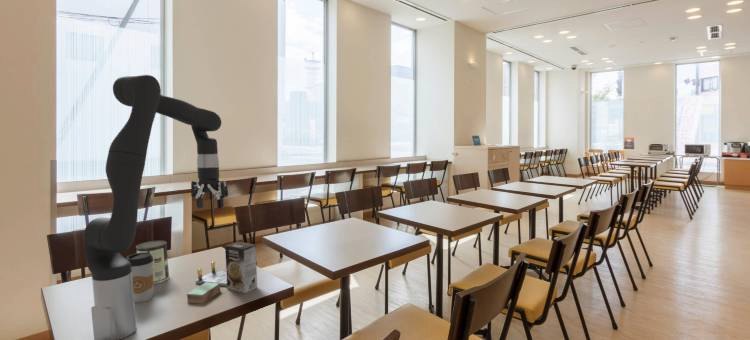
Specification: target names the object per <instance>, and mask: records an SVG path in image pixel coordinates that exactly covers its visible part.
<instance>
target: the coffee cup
mask: <svg viewBox="0 0 750 340" xmlns="http://www.w3.org/2000/svg"><path fill="white" fill-rule="evenodd" d="M125 259H127V260H128V261H130V263H131V268H132V280H133V293H134V303H142V302H146V301H148V299H149V300H151V299H152V297H153V295H154V284H153V257H152V256H151V253H146V252H144V253H137V252H135V253H133V254H129V255H127V256H126V257H125Z"/></svg>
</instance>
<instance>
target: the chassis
mask: <svg viewBox="0 0 750 340" xmlns="http://www.w3.org/2000/svg"><path fill="white" fill-rule="evenodd" d="M210 265H211V271H210V272H209V273H207V274H205V275H203V273H202V272H203V270H202V268H201V267H200V268H197V269H196V270H197V279H195V284H196V285H202V284H204V283H205V282H209V283H220V287H227V271H226V270H216V261H215V260H213V261H211V262H210Z"/></svg>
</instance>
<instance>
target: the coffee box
mask: <svg viewBox="0 0 750 340" xmlns="http://www.w3.org/2000/svg"><path fill="white" fill-rule="evenodd" d="M224 249H225V250H224V251H225V252H224V253H225V269H226V270H225V271H227V288H226V289H227V290H231V291H234V292H235V291H236V292H239V293H242V294H247V293H249V292H251V291H253V290H254V289H255V290H256V288H258V273H257V272H258V270H257V266H258V265H257V244H254V243H249V242H242V241H236V242H235V241H234V242H233V243H229V244H226V245H224Z"/></svg>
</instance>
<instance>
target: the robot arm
mask: <svg viewBox="0 0 750 340" xmlns="http://www.w3.org/2000/svg"><path fill="white" fill-rule="evenodd" d="M112 92H113V95H114V97H115V99H116V100H117V101H118V102H119V103H120V104H121V105H124V106H127V107H131V111H130V114H129V118H128V120H127V121H126V123H125V124H124V126H123V127H122V128H121V129H120V131H119V132H118V133H117V135H116V136H115V137H114V139H113V140H112V142H111V143H110V146H109V148H108V153H107V158H106V162H105V174H106V178H107V181H108V184H109V187H110V189H111V193H112V198H113V199H112V201H113V202H112V211H111V215H110V217H102V216H101V217H95V218H94V219H92V220H91V221H89V222H88V223H87V225H86V227H85V228H84V231H83V240H82V241H83V248H84V254H85V260H86V266H87V268H88V270H89V272H90V273H91V281H92V291H93V302H94V303H93V304H94V305H93V306H91V309H90V310H91V311H90V312H91V321H92V330H93V331H92V332H93V340H121V339H122V340H123V339H125V338H127V337H129V336H131V335H133V334H134V333H135V332H136V331H137V320H136V319H137V318H136V309H135V308H136V307H135V306H136V305H135V302H134V293H133V280H132V268H131V263H130V261H128V260H127V259H126V257H124V256H123V255H122V254H121V253H124V252H126V251H128V250H129V249H130V248H131V246H132V245H133V243H134V241H135V238H136V235H137V234H136V233H137V227H138V226H137V225H138V213H139V212H138V209H139V199H140V194H141V187H142V186H141V185H142V181H143V180H142V179H143V175H144V171H145V166H146V159H147V154H148V147H149V142H150V137H151V133H152V129H153V124H154V121H155V118H156V115H157V114H159V115H162V116H164V117H168V118H171V119H174V120H175V121H178V122H180V123H181V124H182V123H183V124H185V125H188V126H191V130H192V132H193V136H194V139H195V142H196V149H197V150H196V153H197V157H196V164H197V165H196V166H197V168H196V169H197V179H198V180H194V181H193V180H192V181H191V182H190V184H191V185H190V190H191V191H190V192H191V194H190V195H191V197H192V198H193V197H194V198H195V199H196V207H197V209H203V208H204V201H203V197H204V194H206V193H209V194H213V195H214V196H215V197H216V198H217V200H216V204H217V207H216V208H217V210H222V209H223V208H224V199H225V198H228V197H229V190H228V182H227V181H224V180H223V181H220V180H219V178H220V163H219V162H220V160H219V153H218V140H217V139H215V137H214V138H213V137H210V135H208V132H216V131H218V130H219V129H220V128H221V126H222V119H221V117H220V115H219V114H217V112H214V111H213V110H208V109H206V108H201V107H197V106H196V105H193V104H191V103H190V102H187V101H185V100H183V99H181V98H176V97H170V96H168V95H163V94H161V93H162V88H161V84H160V82H159V81H158V79H157V78H156V77H155V76H153V75H150V74H134V75H133V74H132V75H122V76H121V77H120V76H119V77H118V78H116V79H115V81H114V83H113V84H112Z"/></svg>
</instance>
